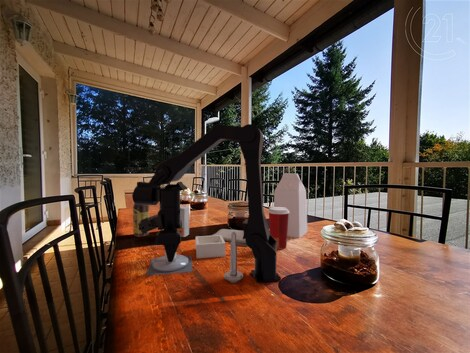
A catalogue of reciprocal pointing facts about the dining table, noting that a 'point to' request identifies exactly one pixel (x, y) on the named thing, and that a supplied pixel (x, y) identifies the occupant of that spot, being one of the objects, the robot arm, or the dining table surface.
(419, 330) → the dining table surface
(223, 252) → the dish
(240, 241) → the washcloth
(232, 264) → the screw
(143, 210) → the sauce bottle
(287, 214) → the paper cup
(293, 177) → the milk
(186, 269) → the mat
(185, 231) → the skincare box
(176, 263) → the lid
